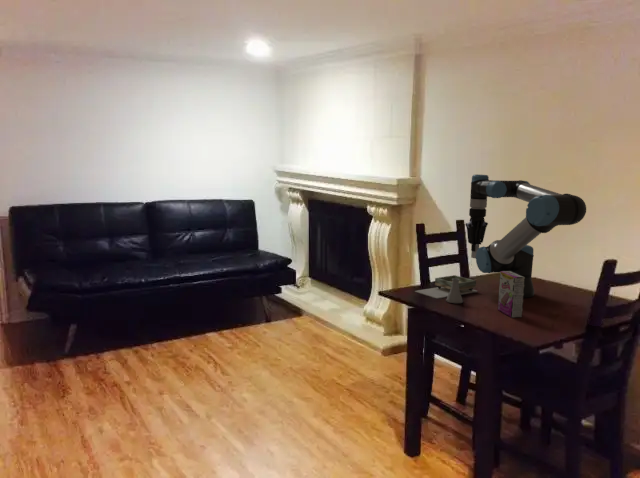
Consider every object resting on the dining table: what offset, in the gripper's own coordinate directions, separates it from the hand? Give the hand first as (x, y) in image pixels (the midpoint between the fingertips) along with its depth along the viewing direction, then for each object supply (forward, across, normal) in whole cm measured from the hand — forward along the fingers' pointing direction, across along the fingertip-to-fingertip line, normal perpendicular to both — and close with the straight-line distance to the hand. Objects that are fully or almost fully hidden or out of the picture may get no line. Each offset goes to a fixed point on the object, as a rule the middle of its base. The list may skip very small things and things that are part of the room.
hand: (474, 257), depth 272 cm
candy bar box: (+14, +21, +38) cm, 46 cm away
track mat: (+14, +18, 0) cm, 23 cm away
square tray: (+14, +12, 0) cm, 19 cm away
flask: (+14, +27, +14) cm, 34 cm away
